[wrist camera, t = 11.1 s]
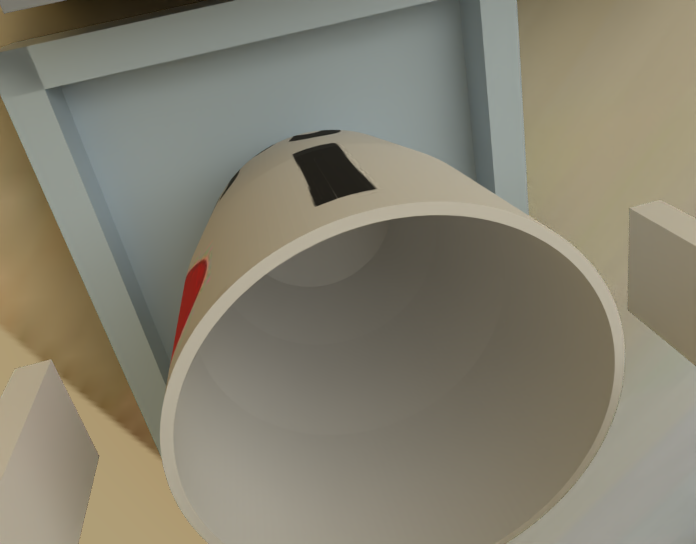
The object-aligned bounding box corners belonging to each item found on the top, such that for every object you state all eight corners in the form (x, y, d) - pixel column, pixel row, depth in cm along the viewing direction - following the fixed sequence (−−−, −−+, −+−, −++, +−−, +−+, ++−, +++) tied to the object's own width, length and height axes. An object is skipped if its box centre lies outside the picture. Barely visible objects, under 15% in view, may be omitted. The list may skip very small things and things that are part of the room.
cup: (308, 17, 17) (422, 81, 8) (489, 202, 21) (703, 383, 12) (121, 232, 19) (50, 479, 10) (320, 369, 22) (398, 640, 13)
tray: (506, 320, 24) (536, 356, 22) (167, 415, 23) (164, 463, 21) (475, -59, 18) (513, -62, 16) (11, 43, 17) (-18, 56, 15)
